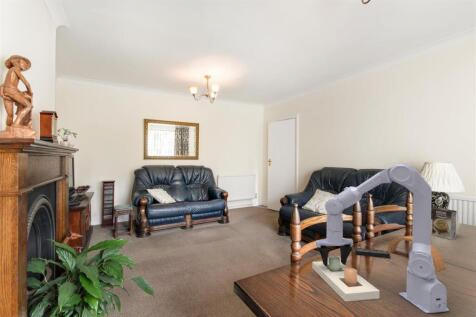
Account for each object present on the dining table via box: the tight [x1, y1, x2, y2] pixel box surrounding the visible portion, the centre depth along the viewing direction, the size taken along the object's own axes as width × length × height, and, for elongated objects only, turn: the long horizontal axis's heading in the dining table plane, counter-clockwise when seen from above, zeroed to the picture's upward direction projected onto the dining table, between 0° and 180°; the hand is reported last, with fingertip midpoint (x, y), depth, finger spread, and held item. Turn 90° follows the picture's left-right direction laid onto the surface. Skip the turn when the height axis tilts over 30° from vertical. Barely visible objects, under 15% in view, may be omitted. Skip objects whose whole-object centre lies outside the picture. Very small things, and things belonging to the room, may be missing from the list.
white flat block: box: [311, 260, 380, 303], centre depth 83 cm, size 22×12×2 cm, turn 9°
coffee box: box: [431, 207, 458, 241], centre depth 132 cm, size 9×6×16 cm
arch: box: [386, 235, 446, 272], centre depth 101 cm, size 6×20×10 cm, turn 24°
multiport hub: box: [352, 247, 391, 260], centre depth 106 cm, size 4×14×2 cm, turn 75°
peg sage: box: [328, 255, 341, 272], centre depth 88 cm, size 4×4×6 cm
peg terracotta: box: [344, 266, 358, 287], centre depth 78 cm, size 4×4×6 cm
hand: (334, 264), depth 88 cm, fingers open, 7 cm apart
